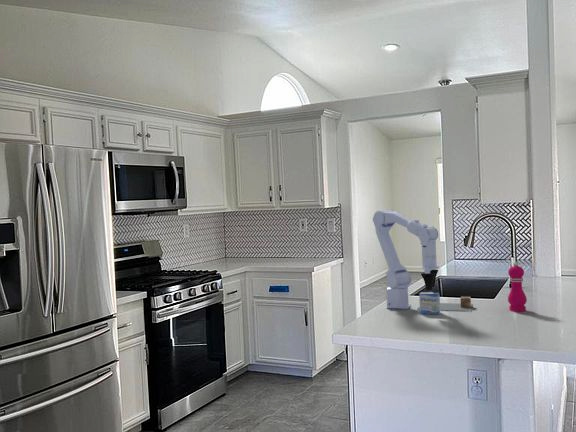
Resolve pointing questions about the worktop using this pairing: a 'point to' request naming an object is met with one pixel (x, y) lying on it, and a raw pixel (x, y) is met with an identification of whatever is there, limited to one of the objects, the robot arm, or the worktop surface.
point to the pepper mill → (516, 289)
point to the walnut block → (465, 302)
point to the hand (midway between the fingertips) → (430, 288)
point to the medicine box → (429, 303)
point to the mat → (452, 307)
